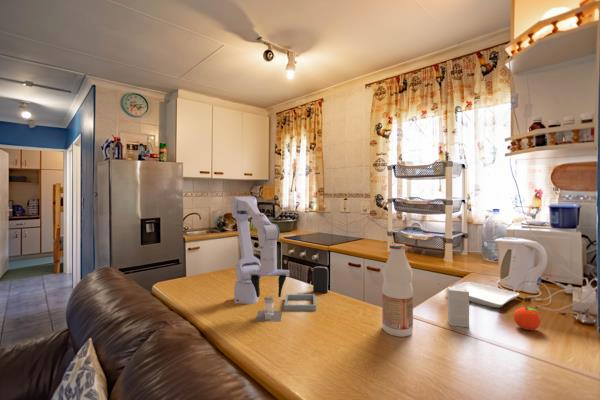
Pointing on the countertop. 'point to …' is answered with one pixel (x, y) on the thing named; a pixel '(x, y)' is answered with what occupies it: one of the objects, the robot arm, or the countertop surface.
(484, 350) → the countertop surface
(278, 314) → the plate
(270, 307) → the cylinder
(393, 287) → the fruit juice
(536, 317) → the red tomato
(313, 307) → the parts tray
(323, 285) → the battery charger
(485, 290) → the salad plate
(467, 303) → the skincare box
